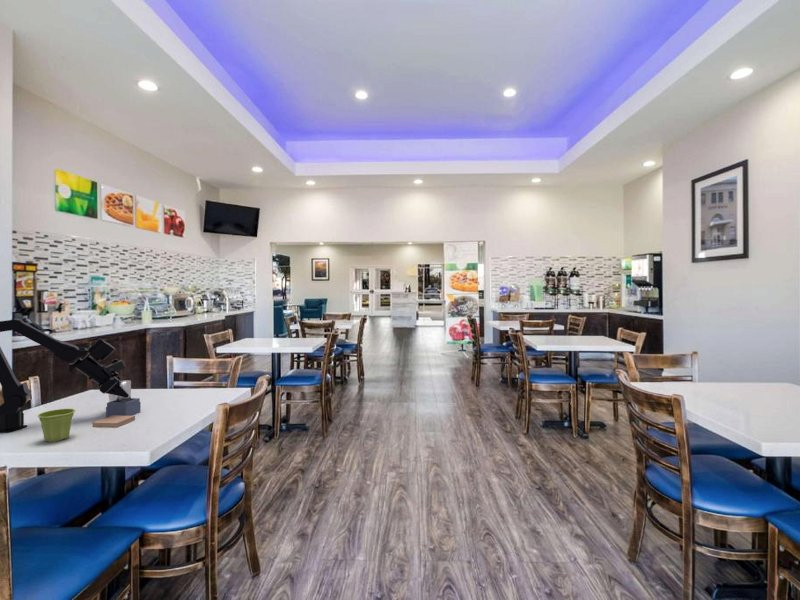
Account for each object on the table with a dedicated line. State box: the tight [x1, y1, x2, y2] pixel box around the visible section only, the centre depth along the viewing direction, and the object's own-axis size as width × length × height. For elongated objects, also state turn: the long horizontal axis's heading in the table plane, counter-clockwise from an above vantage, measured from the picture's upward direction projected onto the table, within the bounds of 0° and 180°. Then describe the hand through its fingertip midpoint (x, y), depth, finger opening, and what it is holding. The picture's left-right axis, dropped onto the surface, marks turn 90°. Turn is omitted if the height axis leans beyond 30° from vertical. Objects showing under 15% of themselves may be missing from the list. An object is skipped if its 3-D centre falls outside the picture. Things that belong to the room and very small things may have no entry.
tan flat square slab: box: [92, 415, 136, 428], centre depth 149 cm, size 9×9×2 cm
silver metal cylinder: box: [116, 379, 132, 403], centre depth 160 cm, size 5×5×9 cm
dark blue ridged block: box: [105, 397, 142, 418], centre depth 160 cm, size 8×8×6 cm
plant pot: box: [37, 408, 76, 443], centre depth 132 cm, size 9×9×9 cm
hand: (127, 394), depth 161 cm, fingers open, 7 cm apart
